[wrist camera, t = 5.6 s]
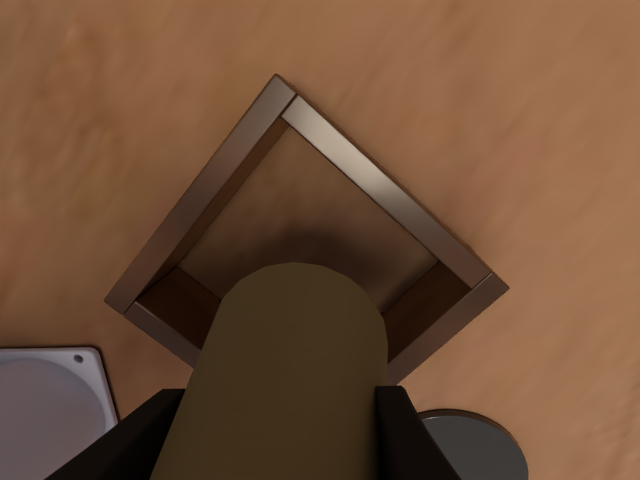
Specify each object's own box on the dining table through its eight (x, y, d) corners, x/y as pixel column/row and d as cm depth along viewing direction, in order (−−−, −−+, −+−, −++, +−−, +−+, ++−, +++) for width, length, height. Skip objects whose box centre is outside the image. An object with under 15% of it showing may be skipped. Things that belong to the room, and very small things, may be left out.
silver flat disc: (368, 527, 24) (369, 535, 23) (363, 409, 21) (364, 416, 21) (517, 530, 23) (521, 539, 22) (532, 408, 20) (536, 415, 20)
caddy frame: (318, 397, 21) (311, 457, 17) (150, 266, 19) (101, 301, 16) (476, 253, 18) (510, 288, 14) (292, 84, 16) (275, 71, 12)
